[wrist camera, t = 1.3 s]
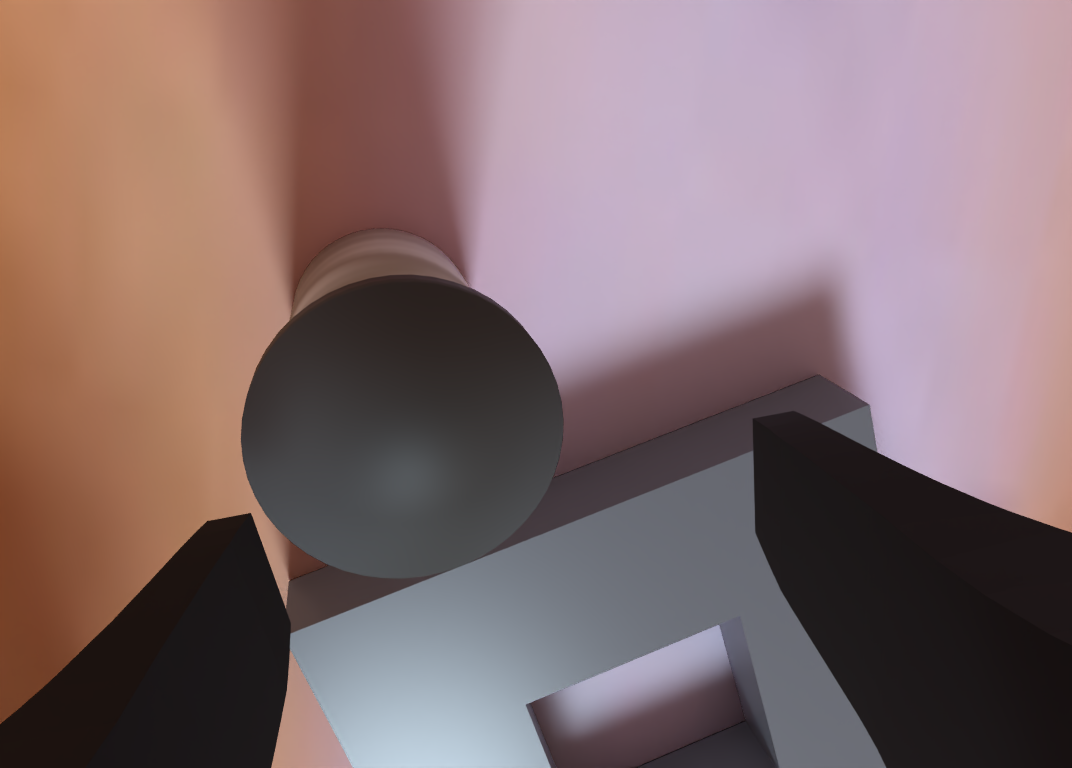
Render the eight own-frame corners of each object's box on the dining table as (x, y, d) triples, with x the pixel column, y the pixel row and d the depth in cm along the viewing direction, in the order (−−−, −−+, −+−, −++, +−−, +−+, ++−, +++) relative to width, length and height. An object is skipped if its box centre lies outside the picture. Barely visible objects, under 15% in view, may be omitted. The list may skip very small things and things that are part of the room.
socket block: (477, 950, 29) (489, 1024, 27) (289, 581, 23) (283, 636, 21) (892, 766, 30) (938, 821, 28) (819, 374, 24) (869, 404, 22)
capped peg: (324, 442, 22) (318, 622, 14) (239, 254, 20) (182, 352, 13) (512, 371, 22) (597, 511, 15) (447, 181, 20) (509, 235, 13)
